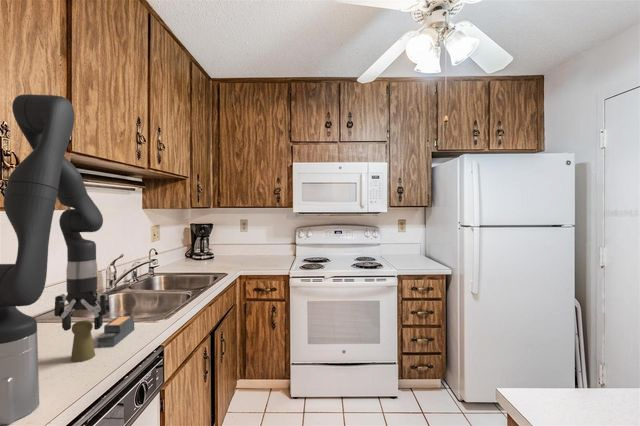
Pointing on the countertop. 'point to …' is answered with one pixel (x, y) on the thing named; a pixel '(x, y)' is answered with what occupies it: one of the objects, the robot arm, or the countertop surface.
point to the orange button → (119, 321)
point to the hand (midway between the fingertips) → (82, 329)
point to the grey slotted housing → (116, 332)
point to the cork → (82, 341)
